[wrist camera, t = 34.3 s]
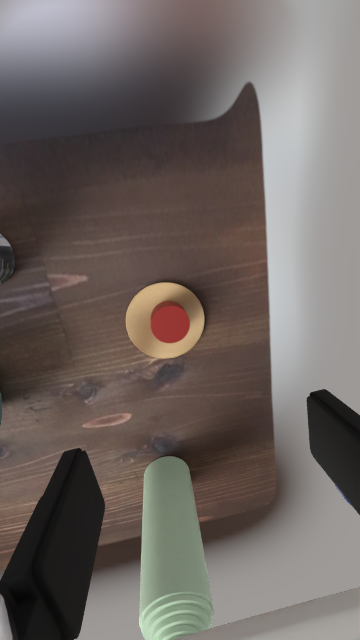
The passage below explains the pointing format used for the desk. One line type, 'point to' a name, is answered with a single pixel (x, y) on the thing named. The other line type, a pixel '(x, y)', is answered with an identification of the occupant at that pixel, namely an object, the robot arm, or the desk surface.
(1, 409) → the flower pot
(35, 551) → the robot arm
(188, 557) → the bottle
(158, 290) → the coaster
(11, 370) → the desk surface
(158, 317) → the cap
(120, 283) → the desk surface
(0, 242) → the pill bottle
